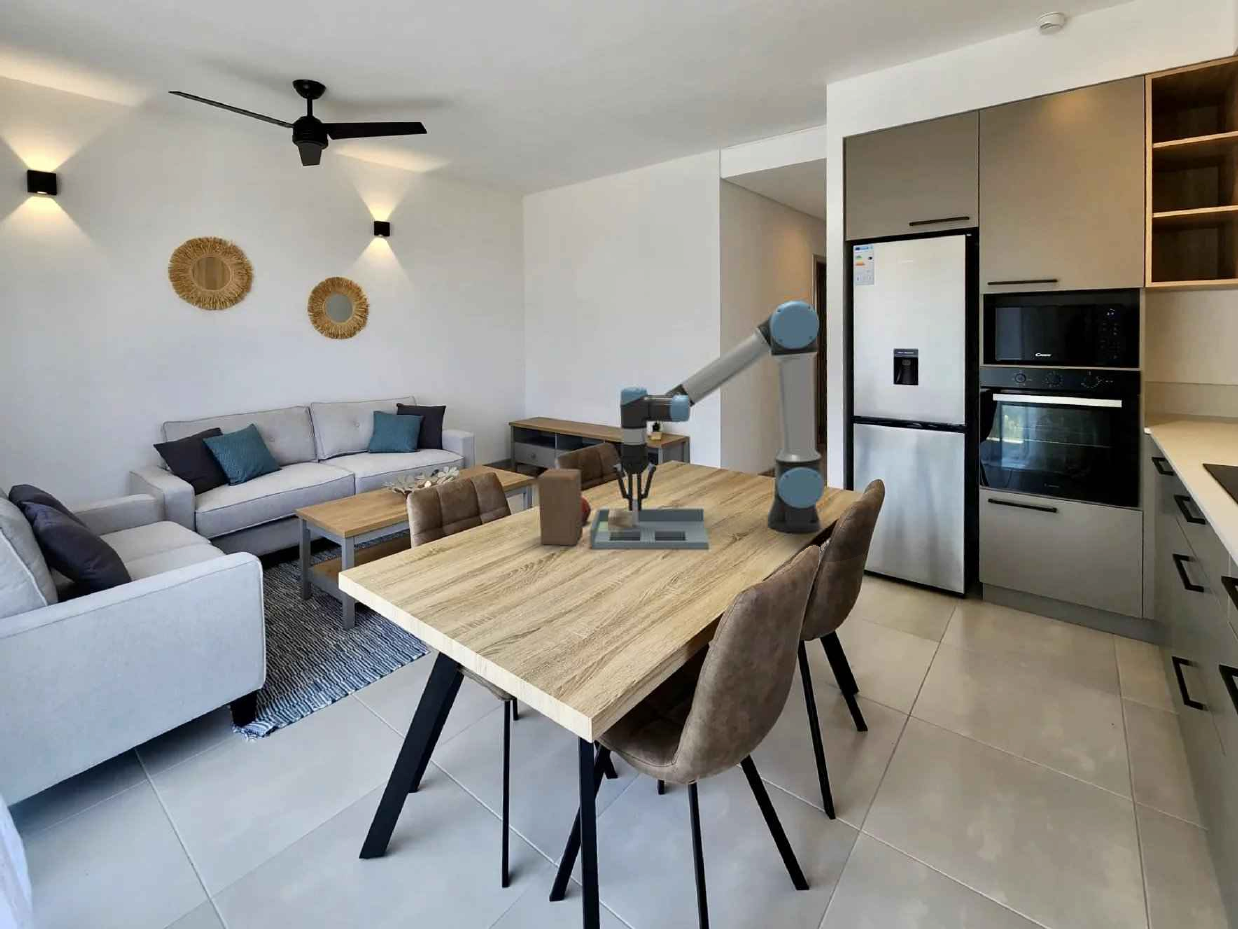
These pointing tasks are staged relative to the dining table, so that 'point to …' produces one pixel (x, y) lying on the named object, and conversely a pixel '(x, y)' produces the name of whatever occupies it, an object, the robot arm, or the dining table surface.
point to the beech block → (620, 520)
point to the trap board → (652, 530)
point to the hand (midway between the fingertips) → (635, 521)
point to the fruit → (585, 510)
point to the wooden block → (560, 506)
